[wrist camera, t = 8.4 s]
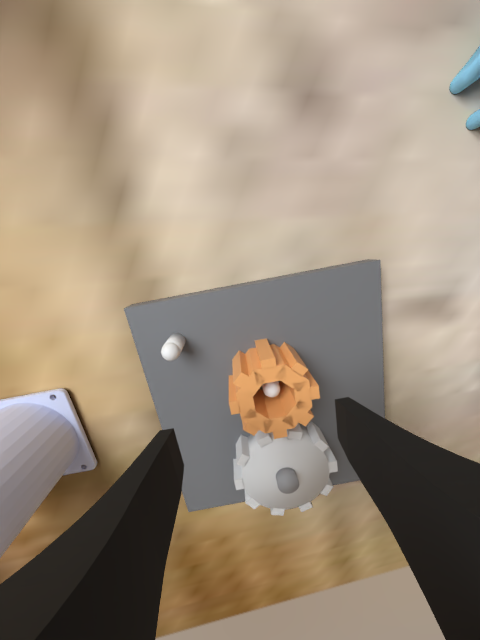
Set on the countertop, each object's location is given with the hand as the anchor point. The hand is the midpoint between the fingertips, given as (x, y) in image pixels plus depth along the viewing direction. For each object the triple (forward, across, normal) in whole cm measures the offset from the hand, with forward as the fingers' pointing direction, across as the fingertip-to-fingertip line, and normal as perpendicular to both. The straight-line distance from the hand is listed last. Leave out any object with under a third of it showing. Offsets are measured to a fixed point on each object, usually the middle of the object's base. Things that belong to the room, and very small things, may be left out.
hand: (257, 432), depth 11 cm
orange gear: (+8, -1, +2) cm, 8 cm away
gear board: (+9, -2, +4) cm, 10 cm away
